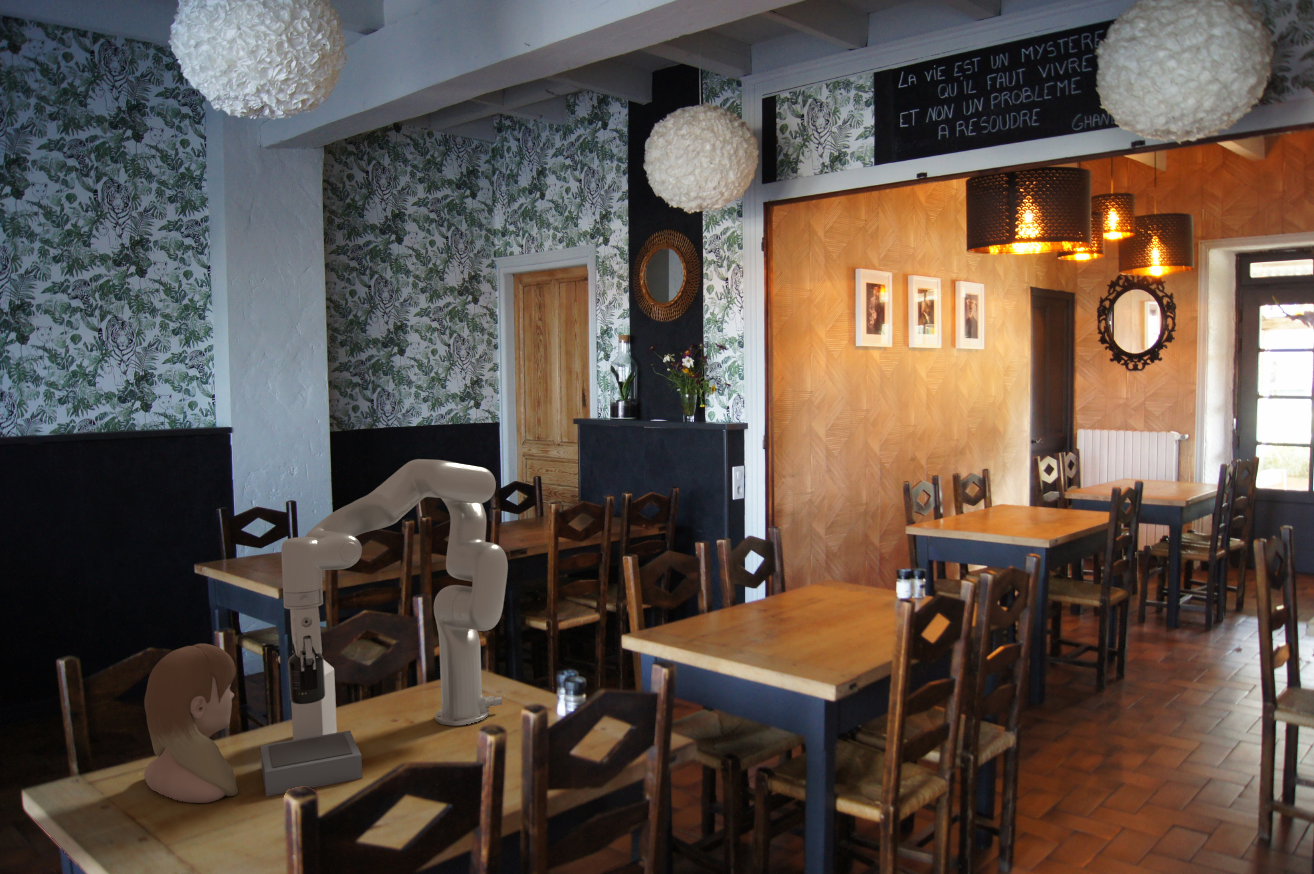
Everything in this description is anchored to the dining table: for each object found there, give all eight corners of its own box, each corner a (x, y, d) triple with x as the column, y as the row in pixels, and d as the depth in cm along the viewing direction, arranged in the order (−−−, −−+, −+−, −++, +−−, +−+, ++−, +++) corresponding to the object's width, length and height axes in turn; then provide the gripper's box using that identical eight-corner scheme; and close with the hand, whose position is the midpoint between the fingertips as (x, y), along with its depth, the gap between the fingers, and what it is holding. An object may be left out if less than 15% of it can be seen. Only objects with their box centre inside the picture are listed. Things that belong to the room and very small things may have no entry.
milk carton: (337, 732, 220) (333, 651, 219) (323, 744, 213) (319, 659, 212) (307, 732, 221) (303, 651, 220) (292, 743, 213) (289, 659, 213)
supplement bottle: (295, 694, 199) (293, 637, 198) (329, 693, 199) (326, 636, 199) (285, 705, 192) (282, 646, 191) (320, 703, 193) (317, 644, 192)
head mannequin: (274, 780, 192) (263, 644, 190) (192, 815, 178) (178, 668, 176) (208, 756, 206) (197, 629, 204) (127, 787, 193) (114, 651, 191)
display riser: (350, 751, 207) (349, 729, 207) (362, 777, 193) (361, 753, 193) (261, 767, 200) (260, 744, 200) (266, 796, 185) (265, 770, 185)
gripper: (327, 604, 188) (331, 693, 189) (318, 588, 204) (321, 671, 205) (287, 608, 185) (291, 699, 186) (280, 592, 201) (284, 676, 202)
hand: (307, 683), depth 196 cm, fingers closed on supplement bottle, 6 cm apart
